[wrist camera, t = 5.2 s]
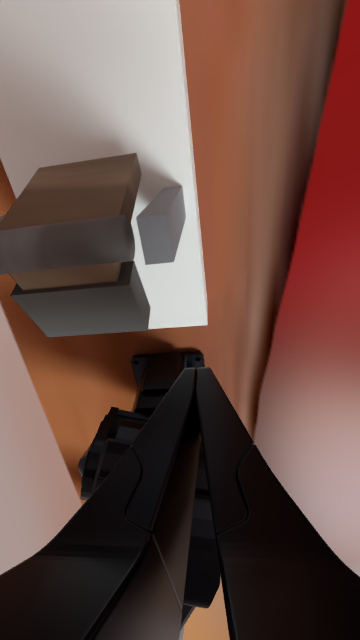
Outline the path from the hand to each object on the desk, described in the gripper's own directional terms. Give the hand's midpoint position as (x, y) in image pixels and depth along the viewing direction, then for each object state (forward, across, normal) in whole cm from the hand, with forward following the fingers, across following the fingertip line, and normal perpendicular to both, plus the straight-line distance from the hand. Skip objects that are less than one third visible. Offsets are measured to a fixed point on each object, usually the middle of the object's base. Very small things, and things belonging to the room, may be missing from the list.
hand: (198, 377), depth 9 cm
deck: (+13, +5, -4) cm, 14 cm away
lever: (+9, +5, -4) cm, 11 cm away
